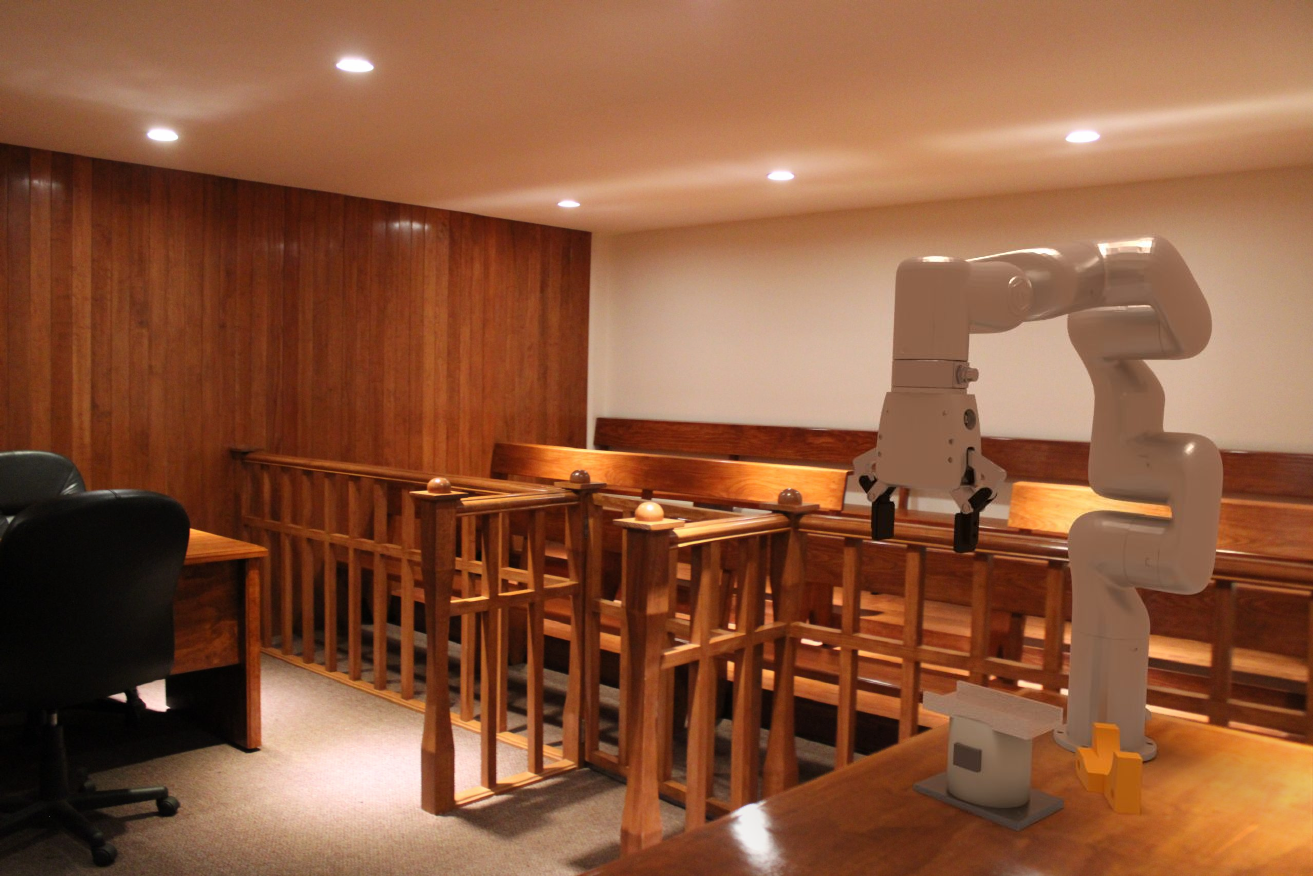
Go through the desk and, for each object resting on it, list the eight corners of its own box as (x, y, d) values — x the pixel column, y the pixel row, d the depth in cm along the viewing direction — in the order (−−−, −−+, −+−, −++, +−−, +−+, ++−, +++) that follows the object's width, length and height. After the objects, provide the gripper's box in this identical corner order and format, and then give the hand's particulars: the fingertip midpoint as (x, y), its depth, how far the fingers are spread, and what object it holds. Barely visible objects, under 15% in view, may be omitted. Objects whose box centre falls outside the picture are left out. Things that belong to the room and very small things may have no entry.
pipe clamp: (1075, 772, 125) (1077, 721, 125) (1112, 776, 124) (1115, 724, 124) (1098, 812, 113) (1101, 755, 113) (1139, 816, 113) (1142, 759, 112)
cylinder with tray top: (961, 772, 124) (965, 678, 123) (1063, 807, 114) (1068, 706, 113) (913, 792, 117) (917, 693, 116) (1017, 831, 107) (1022, 723, 107)
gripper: (1027, 381, 100) (1018, 554, 101) (879, 378, 112) (873, 532, 113) (988, 379, 95) (979, 561, 96) (838, 377, 107) (832, 537, 108)
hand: (922, 545), depth 104 cm, fingers open, 9 cm apart
